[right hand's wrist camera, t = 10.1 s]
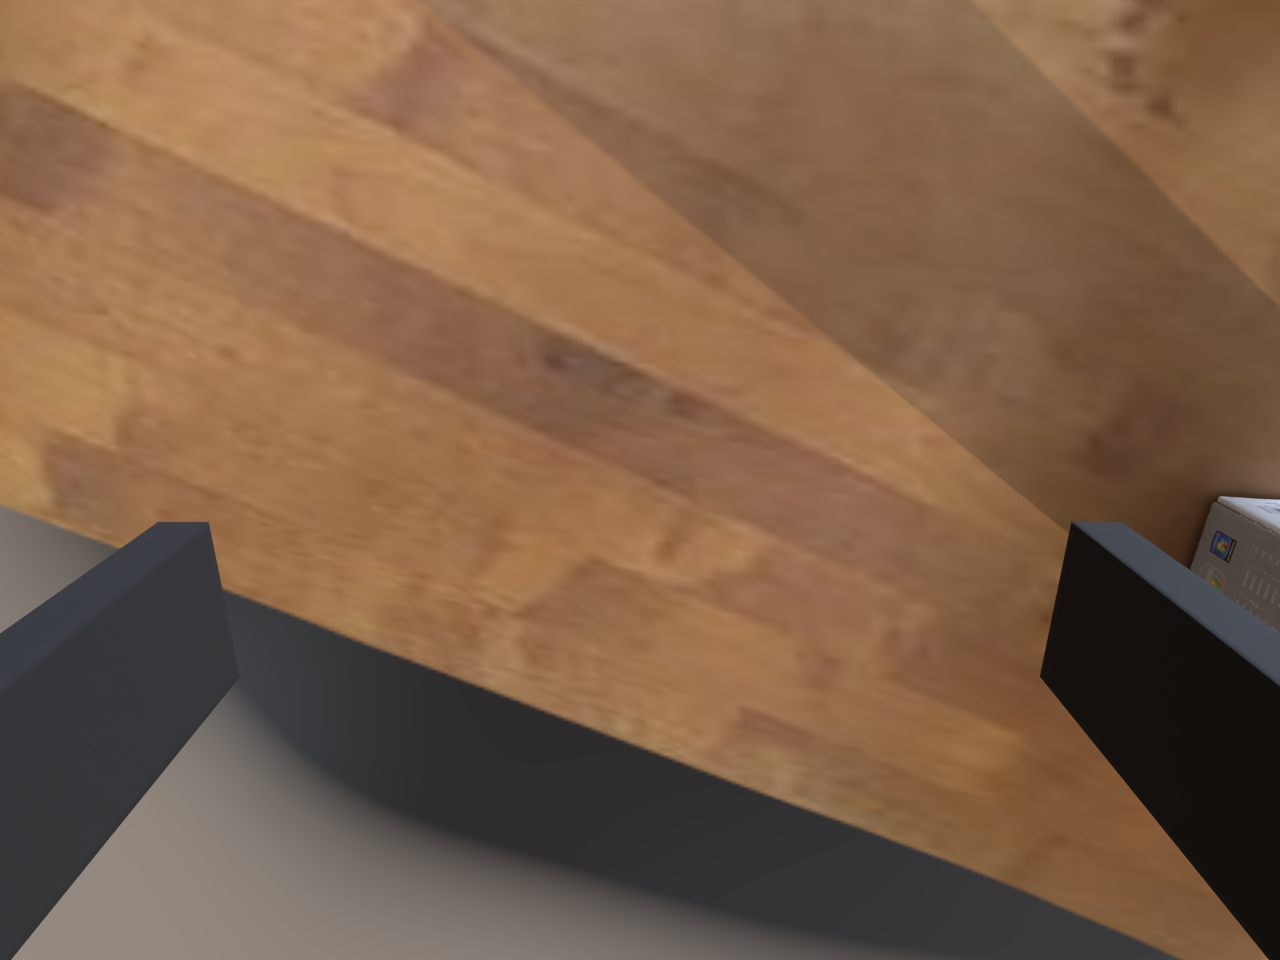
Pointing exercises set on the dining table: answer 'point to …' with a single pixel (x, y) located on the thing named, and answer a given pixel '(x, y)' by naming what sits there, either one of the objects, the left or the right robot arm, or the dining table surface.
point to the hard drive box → (1243, 554)
